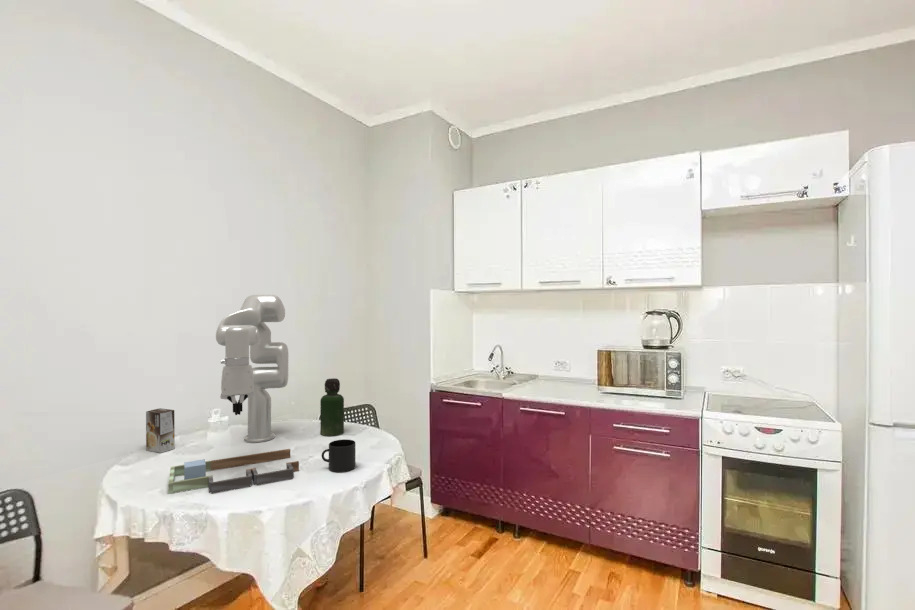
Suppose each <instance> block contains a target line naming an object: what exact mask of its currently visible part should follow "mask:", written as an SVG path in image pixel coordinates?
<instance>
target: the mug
mask: <svg viewBox="0 0 915 610" xmlns="http://www.w3.org/2000/svg"><path fill="white" fill-rule="evenodd" d="M326 453H328V459H327V458H326V457H325V454H326ZM321 459H322V460H323V461H324V462H327V463H328V470H329V471H330V472H331V473H333V472H334V473H346V472H350V471H352V470H354V469H355V468H356V441H355V440H352V439H335V440H333V441H330V442H329V443H328V448H326V449H325V450H323V451H322V453H321Z"/></svg>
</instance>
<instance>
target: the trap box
mask: <svg viewBox="0 0 915 610" xmlns="http://www.w3.org/2000/svg"><path fill="white" fill-rule="evenodd" d="M290 458H291V449H290V448H285V449H279V450H272V451H265V452H259V453H254V454H253V453H252V454H247V455H245V454H244V455H239V456H232V457H227V458H219V459H214V460H207V461H206V460H205V463H206V472H209V471H210V472H211V471H216V470H217V471H218V470H223V469H224V470H225V469H229V468H235V467H241V466H249V465H255V464H260V463H266V462H273V461H279V460H286V459H290ZM285 467H286V468H285V469H280V470H274V471H269V472H263V473H258V471H257V470H258V469H257V467H254V468H248V469H245V476H240V477H234V478H229V479H222V480H215V481H214V475H206V476H205V477H199V478H192V479H186V480H184V479H182V480H175V479H176V478H175V477H178V476H179V477H180V476H184V464H181V465H173V466H170V470H169V476H168V484H167V485H168V488H167V489H168V493H167V494H168V495H172V494H175V492H177V493H181V492H180V491H183V492H187V491H186V490H188V491H192V490H191V489H194V490H198V488H200V489H204V488H208V494H209V493H211V494H217V493H224V492H228V491H233V490H234V489H235V490H239V489H240V490H241V489H244V488H249V487H251V486H253V485H256V486H261V485H266V484H267V485H268V484H271V483H278V482H282V481H288V480H292V479H293V478H294V473H295V472H299V471H300V462H299V460H295V461H290V462H289V461H288V462H286V465H285Z"/></svg>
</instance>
